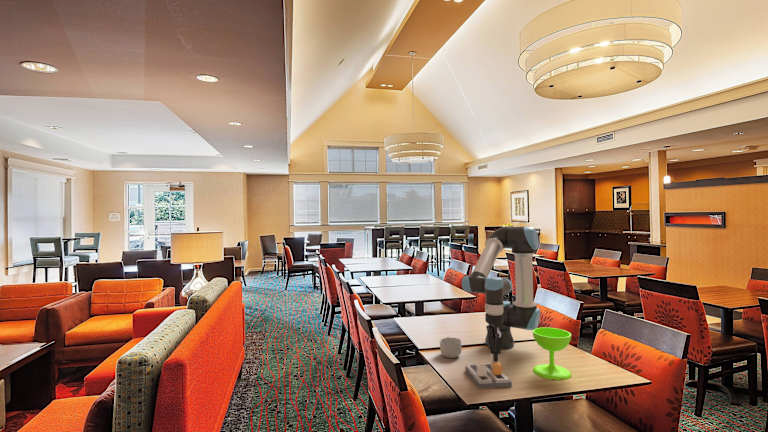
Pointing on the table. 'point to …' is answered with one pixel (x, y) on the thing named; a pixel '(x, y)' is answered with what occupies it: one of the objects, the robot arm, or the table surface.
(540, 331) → the wineglass
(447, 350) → the teacup
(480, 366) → the fader
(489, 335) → the robot arm
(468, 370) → the console
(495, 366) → the fader
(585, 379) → the table surface
